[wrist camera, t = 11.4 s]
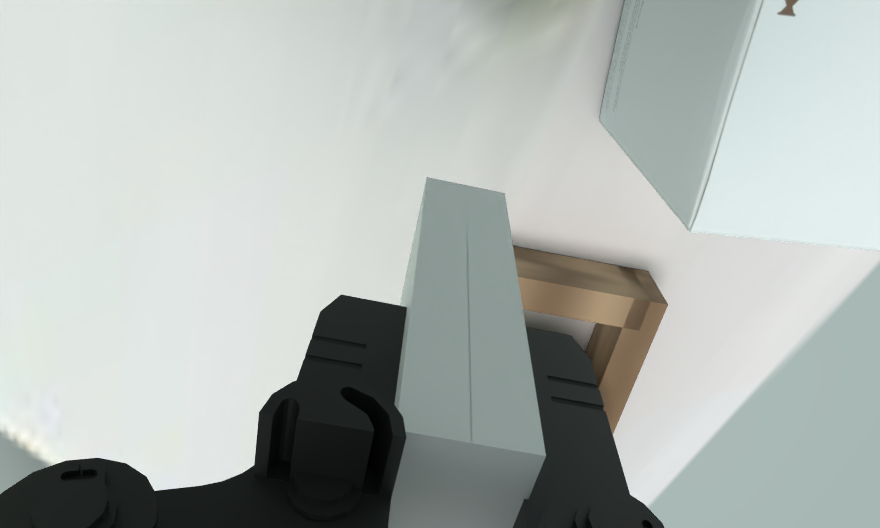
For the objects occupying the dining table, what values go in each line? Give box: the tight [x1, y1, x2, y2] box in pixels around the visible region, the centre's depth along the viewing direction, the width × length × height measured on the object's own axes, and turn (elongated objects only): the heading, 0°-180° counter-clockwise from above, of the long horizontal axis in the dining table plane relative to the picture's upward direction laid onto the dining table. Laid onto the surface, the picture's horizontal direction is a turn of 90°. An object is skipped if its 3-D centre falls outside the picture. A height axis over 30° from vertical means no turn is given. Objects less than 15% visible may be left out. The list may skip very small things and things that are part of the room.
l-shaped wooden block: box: [513, 246, 668, 435], centre depth 41 cm, size 12×18×4 cm, turn 169°
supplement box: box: [600, 0, 880, 251], centre depth 27 cm, size 9×9×15 cm
